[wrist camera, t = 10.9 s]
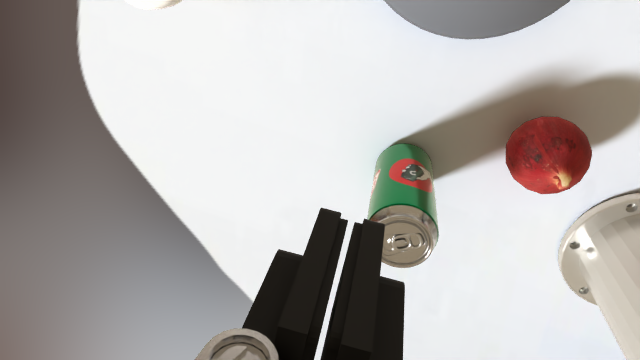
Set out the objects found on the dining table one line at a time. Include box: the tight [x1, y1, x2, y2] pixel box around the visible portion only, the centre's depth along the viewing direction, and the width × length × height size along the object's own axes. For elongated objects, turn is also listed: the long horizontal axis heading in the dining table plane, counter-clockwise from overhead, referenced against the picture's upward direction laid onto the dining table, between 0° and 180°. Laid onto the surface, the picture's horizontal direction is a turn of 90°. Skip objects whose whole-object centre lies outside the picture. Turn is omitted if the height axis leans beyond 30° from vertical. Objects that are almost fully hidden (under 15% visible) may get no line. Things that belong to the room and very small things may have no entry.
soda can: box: [367, 144, 438, 268], centre depth 34 cm, size 5×5×12 cm
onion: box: [506, 117, 592, 194], centre depth 33 cm, size 6×6×8 cm
